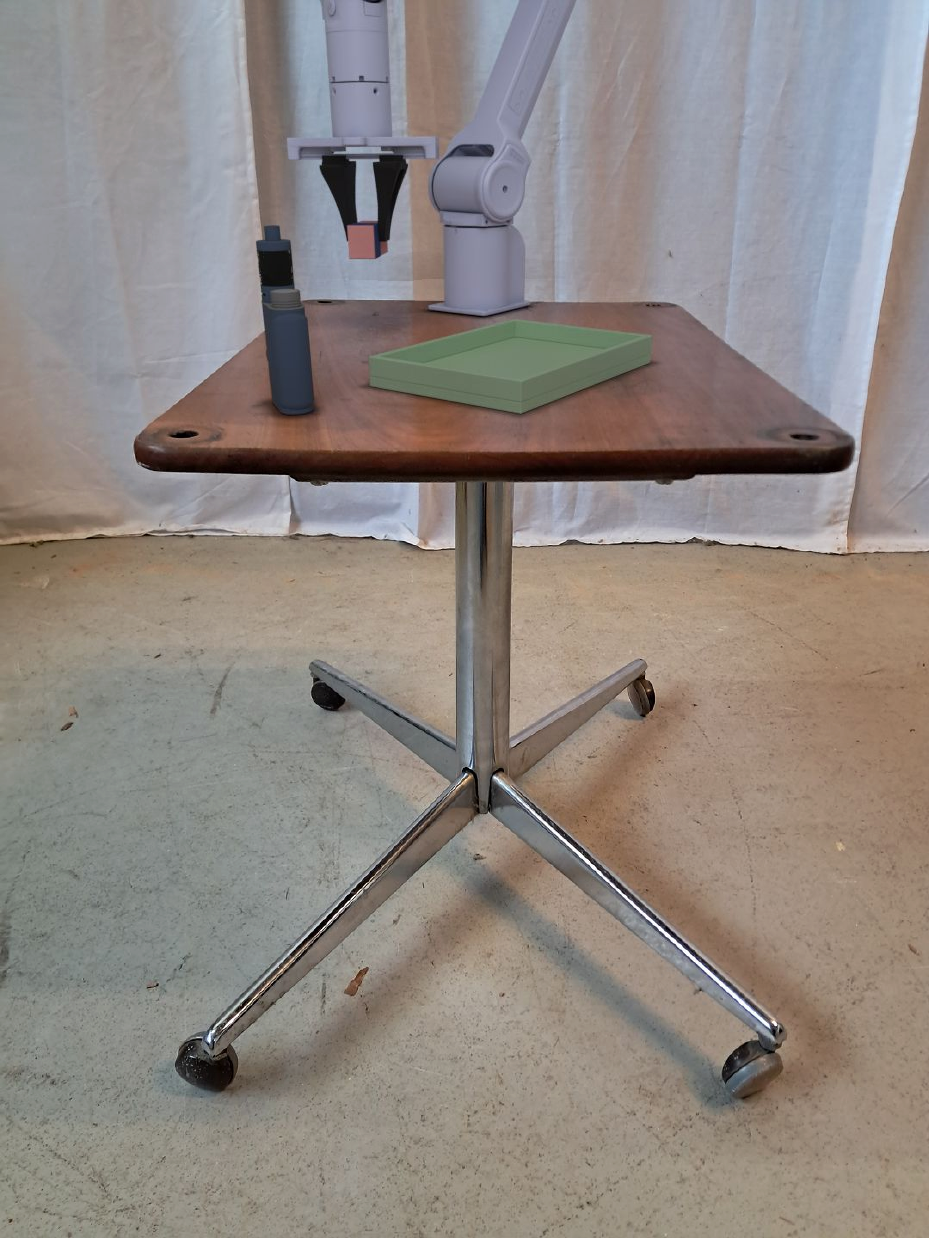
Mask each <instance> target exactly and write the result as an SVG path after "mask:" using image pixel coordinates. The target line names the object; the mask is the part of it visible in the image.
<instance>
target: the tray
mask: <svg viewBox="0 0 929 1238" xmlns="http://www.w3.org/2000/svg"><path fill="white" fill-rule="evenodd" d="M652 346H653V335H652V334H643V333H636V332H627V331H619V330H610V329H602V328H594V327H585V326H575V325H568V324H561V323H552V322H543V321H534V320H525V319H517V318H513V319H509V320H505V321H504V320H503V321H501V322H500V321H499V322H497V323H493V324H489V325H485V326H481V327H478V328H474V329H473V328H472V329H471V330H466V331H462V332H458V333H454V334H450V335H447V336H441V337H439V338H435V339H431V340H427V341H423V342H419V343H416V344H412V345H407V346H404V347H399V348H397V349H393V350H389V351H385V352H382V353H378V354H373V355H370V356H368V370H369V373H368V374H369V387H373V388H378V389H383V390H389V391H393V392H394V391H395V392H400V393H404V394H405V393H406V394H409V395H416V396H420V397H421V396H422V397H427V398H432V399H438V400H443V401H449V402H455V403H460V404H466V405H470V406H475V407H481V408H487V409H492V410H498V411H504V412H508V413H515V414H520V415H521V414H524V413H526V412H529V411H531V410H534V409H536V408H539V407H541V406H543V405H546V404H550V403H552V402H554V401H557V400H559V399H562V398H564V397H568V396H570V395H572V394H574V393H577V392H579V391H583V390H585V389H587V388H590V387H592V386H594V385H597V384H600V383H602V382H605V381H607V380H610V379H612V378H615V377H618V376H620V375H623V374H625V373H628V372H630V371H632V370H635V369H638V368H640V367H643V366H645V365H648V364H650V363H651V358H652Z"/></svg>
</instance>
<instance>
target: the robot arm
mask: <svg viewBox="0 0 929 1238" xmlns="http://www.w3.org/2000/svg"><path fill="white" fill-rule="evenodd" d="M319 2H320V6H321V15H322V20H323V21H324V31H325V45H326V61H327V77H328V87H329V89H328V90H329V103H330V104H329V105H330V118H331V133H332V134H331V135H332V136H331V137H286V148H287V159H288V161H304V160H305V161H309V160H310V161H311V160H312V161H313V160H319V161H320V160H321V164H320V165H318V166H319V171H320V174H321V176H322V177H323V179H324V182H325V183H326V185H327V188H328V189H329V192H330V193H331V195H332V197H333V200H334V203H335V205H336V208H337V210H338V213H339V215H340V219H341V222H342V226H343V229H344V235H345V238H346V239H345V240H346V242H348V230H347V225H349V224H352V223H357V222H359V221H358V213H357V202H356V201H357V198H356V197H357V196H356V189H357V186H356V185H357V161H356V160H379V161H373V162H372V169H373V177H374V184H375V192H376V202H377V203H376V204H377V221H378V235H379V242H386V241H387V242H388V241H390V240H391V229H392V221H393V217H394V211H395V206H396V203H397V200H398V197H399V193H400V190H401V187H402V184H403V183H404V179H405V178H406V177H405V176H406V174H407V172H408V169H409V163H407V160H437V161H435V163H434V164H433V165H432V168H431V170H430V172H429V176H428V180H427V181H428V182H427V193H428V197H429V201H430V203H431V205H432V208H434V211H436V212H437V213H438V214H439V223H440V224H443V225H442V244H443V246H442V247H443V248H442V249H443V252H442V253H443V296H444V297H443V301H442V302H437V303H432V304H429V305H428V307H427V309H428V310H429V311H437V312H438V311H439V312H447V313H454V314H462V315H470V316H479V317H480V316H481V317H487V316H490V315H495V314H500V313H504V312H507V311H511V310H516V309H519V308H524V307H529V306H530V305H531V303H532V302H531V300H526V299H525V283H526V245H525V240H524V237H523V236H522V234H521V232H520V230H519V229H518V228H517V227H516V226H514V217H515V216H516V215H517V214H518V212H519V211H520V209H521V208H522V205H523V203H524V199H525V193H526V181H527V180H526V179H527V174H528V171H529V169H530V166H531V163H532V159H531V157H530V155H529V152H528V150H527V149H526V147H525V145H524V144H523V142H522V138H523V137H524V134H525V131H526V128H527V126H528V124H529V121H530V120H531V116H532V113H533V111H534V109H535V106H536V103H537V102H538V99H539V96H540V93H541V91H542V88H543V86H544V83H545V82H546V78H547V76H548V73H549V71H550V68H551V66H552V63H553V60H554V58H555V55H556V53H557V50H558V48H559V45H560V43H561V40H562V38H563V35H564V32H565V30H566V28H567V25H568V23H569V20H570V18H571V15H572V13H573V10H574V8H575V5H576V3H577V0H518V3H517V6H516V8H515V11H514V13H513V16H512V18H511V21H510V22H509V26H508V28H507V31H506V33H505V36H504V39H503V41H502V44H501V47H500V49H499V52H498V54H497V57H496V59H495V62H494V64H493V67H492V70H491V72H490V75H489V77H488V80H487V82H486V85H485V88H484V90H483V93H482V95H481V98H480V101H479V102H478V106H477V108H476V110H475V113H474V115H473V119H472V120H471V121H470V122H469V123H467V125H466V126H465V127H463V128H462V129H461V130H460V131H458V133H457V134H455V135H454V136H453V137H452V138H451V139H450V141H449V144H448V147H447V148H446V150H445V152H444V154H443V155H442V156H441V157H440V137H439V136H393V120H392V117H393V116H392V95H391V93H392V91H391V72H390V71H391V70H390V67H391V65H390V43H389V42H390V41H389V20H388V0H319ZM367 147H368V148H380V151H381V152H383V153H341V152H347V148H367ZM336 152H337V153H336ZM338 152H339V153H338ZM385 152H387V153H385ZM391 152H392V153H391Z"/></svg>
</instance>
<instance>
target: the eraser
mask: <svg viewBox="0 0 929 1238" xmlns="http://www.w3.org/2000/svg"><path fill="white" fill-rule="evenodd" d="M347 230H348V241H347V244H348V258H349V260H376V259H379V258H381V257H382V256H383V255H385V254H387V253H389V248H388V244H389V243H388V241H386V242H379V235H378V220H361V221H358V222H357V223H352V224H349V225H347Z"/></svg>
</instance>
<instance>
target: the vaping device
mask: <svg viewBox="0 0 929 1238" xmlns="http://www.w3.org/2000/svg"><path fill="white" fill-rule="evenodd" d="M263 231H264V239H258V240H256V241H255V247H256V248H255V249H256V256H257V265H258V266H257V267H258V276H259V278H260V279H259V282H260V283H259V284H260V293H261V301H260V302H261V308H262V309H261V310H262V317H263V327H264V335H265V336H264V337H265V338H264V339H265V346H266V347H265V348H266V349H265V356H266V360H267V365H268V374H269V375H268V376H269V384H270V395H271V402H272V404H273V405H274V406H275V407H276V408H277V409H278V411H279V413H282V414H283V415H289V416H297V415H305V414H308V413H311V412H313V410H314V405H313V404H314V401H315V392H314V380H313V368H312V367H313V366H312V359H311V358H312V356H311V355H312V354H311V345H310V331H309V320H308V317H307V316H306V310H305V309H306V306H305V305H304V304H303V303H302V299H301V290H300V289H297V288H296V287H295V286H296V285H295V275H294V265H293V264H294V263H293V253H292V241H291V239H286V238H282V236H281V226H280V225H273V224H272V225H270V224H269V225H263Z"/></svg>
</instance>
